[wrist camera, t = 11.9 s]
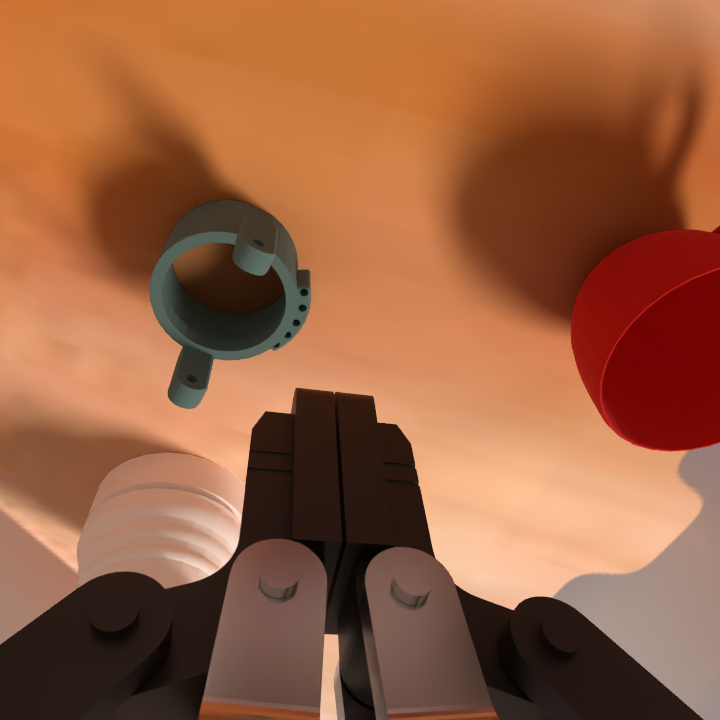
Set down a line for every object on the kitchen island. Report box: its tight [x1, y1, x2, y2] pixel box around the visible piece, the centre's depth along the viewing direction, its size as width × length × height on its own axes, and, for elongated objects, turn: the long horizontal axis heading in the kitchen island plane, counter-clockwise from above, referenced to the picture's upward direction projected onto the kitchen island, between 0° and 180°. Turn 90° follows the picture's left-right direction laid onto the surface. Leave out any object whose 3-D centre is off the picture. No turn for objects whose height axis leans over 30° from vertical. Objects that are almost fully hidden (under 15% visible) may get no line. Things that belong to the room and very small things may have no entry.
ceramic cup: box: [571, 226, 720, 451], centre depth 37 cm, size 13×17×10 cm
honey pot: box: [77, 452, 245, 589], centre depth 43 cm, size 13×13×18 cm
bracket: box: [150, 200, 311, 409], centre depth 35 cm, size 9×9×9 cm
